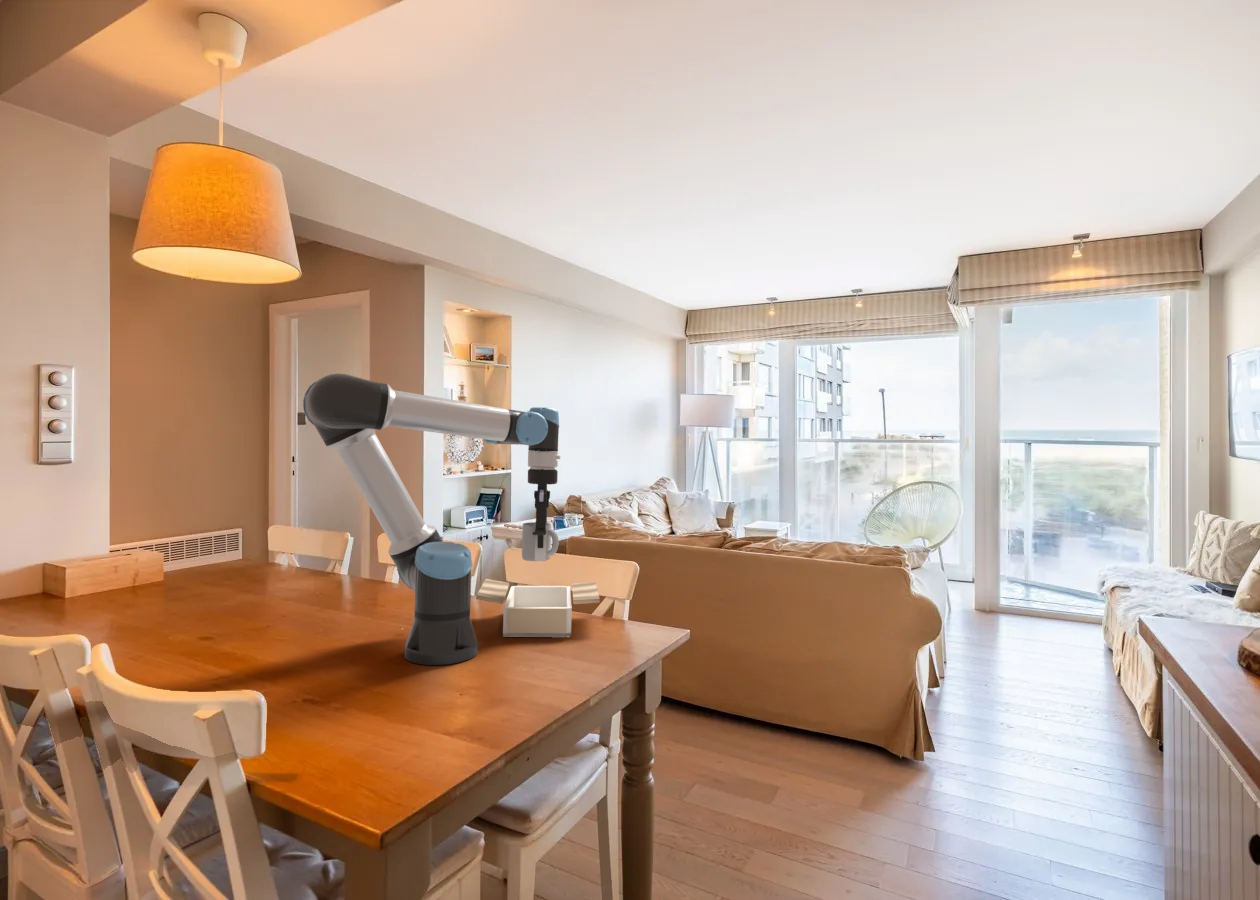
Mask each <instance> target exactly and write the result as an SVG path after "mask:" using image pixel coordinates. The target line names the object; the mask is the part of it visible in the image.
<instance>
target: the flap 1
mask: <svg viewBox="0 0 1260 900" xmlns="http://www.w3.org/2000/svg"><path fill="white" fill-rule="evenodd" d="M509 587H510V582H507V581H505V582H504V581H500V580H494V579H490V578H485V580H483V583H482V584H481V587H480V588H479V590H478V592H477V594H476V596H475V597H476V598H475V600H479V601H485V602H490V603H496V604H502V605H503V603H504V601H505V598H506V595H507V594H508V593H507V592H508V590H509Z"/></svg>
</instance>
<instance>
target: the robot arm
mask: <svg viewBox="0 0 1260 900" xmlns="http://www.w3.org/2000/svg"><path fill="white" fill-rule="evenodd" d="M302 402H303V403H302V406H303V407H302V408H303V412H304V415H305V417H306V419H307V420H308V421H309V423H311V425H313V427H315V429H316V431H317V433H318V435H319V436H320V438H321V440H322V442H323V443H324V445H325V446H326V447H327V448H328V449H332V450H335V451H337V452H338V454H339V455H340V458H341V459H342V461H343V463H344V464H345V466H346V467H347V469H348V471H349V474H350V475H351V476H352V478H353V480H354V481H355V483H356V485H357V487H358V488H359V490H360V492H361V494H362V495H363V497H364V499H365V500H366V502H367V504H368V506H369V508H370V509H371V511H372V513H373V515H374V516H375V518H376V520H377V521H378V523H379V524H380V527H381V528H382V530H383V532H384V534H385V535H386V537H387V539H388V540H389V543H390V545H389V548H388V555H390V556H389V557H390V558H391V560H392V561H393V563H394V565H395V567H396V571H397V573H398V577H399V579H400V580H401V581H402V583H404V584H405V586H406V587H408V588H410V589H411V590H413V591H414V613H413V614H414V616H413V618H414V619H413V622H412V625H411V628H410V630H409V634H408V637H407V640H406V642H405V646H404V658H405V660H407V661H408V662H410V663H414V664H418V665H425V666H442V665H443V666H444V665H453V664H457V663H462V662H466V661H468V660H470V659H473V658H474V657H476V656H477V654H478V650H479V649H478V646H479V641H478V639H477V635H476V631H475V629H474V625H473V622H472V619H471V602H472V601H471V599H472V598H471V597H472V595H471V594H472V568H473V559H472V552H471V550H470V549H469V547H467V546H466V545H464V544H462V543H456V542H453V541H444V540H443V539H442V537H441V535H440V534H439V532H438V530H437V528H436V526H434V525H430V524H427V523H425V520H424V518H423V517H422V515H421V513H420V511H419V510H418V508H417V506H416V504H415V503H414V501H413V498H412V497H411V495H410V493H409V491H408V489H407V488H406V486H405V485H404V483H403V481H402V479H401V478H400V476H399V475H400V474H399V473H398V472H397V470H396V468H395V467H394V464H393V463H392V460H391V459H390V458H389V456H388V454H387V453H386V451H385V449H384V447H383V445H382V443H381V442H380V439H379V438H378V436H377V434H376V430H379V431H382V430H384V429H385V428H387V427H391V428H392V427H393V428H400V429H406V430H412V431H413V430H415V431H423V432H429V433H437V434H442V435H443V434H444V435H450V436H451V435H452V436H457V437H458V436H459V437H464V438H465V437H466V438H467V437H468V438H474V439H479V440H480V439H481V440H483V441H484V442H485V443H486V444H492V445H493V444H494V445H516V446H517V445H520V446H521V445H523V446H524V445H525V446H528V449H527V466H528V467H529V468H528V470H527V483H528V484H530V485H537V490H534V492H533V494H534V497H533V498H534V508H535V522H536V530H535V532H533V535H535V561H534V562H546V561H547V560H546V523H548V509H549V506H550V498H551V491H550V490H548V485H556V484H558V470H557V469H556V468H557V467H558V461H559V460H560V459H561V455H558V454H559V433H560V431H559V429H560V417H559V411H558V409H556V408H554V407H543V406H542V407H541V406H540V407H539V406H538V407H537V406H536V407H531V408H530V409H529V410H527V411H521V410H514V409H508V408H504V407H498V406H493V405H486V404H479V403H475V402H474V403H473V402H469V401H468V402H467V401H463V400H455V399H450V398H443V397H437V396H432V395H425V394H419V393H415V392H414V393H413V392H407V391H400V390H394V389H393V388H392V387H391V385H390V384H388V383H383V382H377V381H373V380H368V379H364V378H361V377H358V376H354V375H350V374H346V373H330V374H327V375H325V376H322V377H321V378H319V379H318V380H315V381H314V382H313V383H312V384H311V385H309V387H308V388H307V390H306V391H305V394H304V396H303V400H302ZM539 528H540V529H539Z"/></svg>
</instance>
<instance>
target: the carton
mask: <svg viewBox="0 0 1260 900" xmlns="http://www.w3.org/2000/svg"><path fill="white" fill-rule="evenodd" d="M507 594H508V595H507V597H506V600H505V603H504V605H503V618H502V619H503V620H502V623H503V624H502V625H503V626H502V638H503V637H552V638H568V637H567V636H571V637H572V612H573V611H572V608H573V606H572V588H571V586H566V585H512V586H510V589H509V592H508V593H507ZM563 636H564V637H563Z"/></svg>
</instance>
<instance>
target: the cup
mask: <svg viewBox="0 0 1260 900" xmlns="http://www.w3.org/2000/svg"><path fill="white" fill-rule="evenodd" d="M539 529H540V528H539ZM535 530H536V521H535V522H534V521H533V522H524V523H522V533H521V536H522V538H521V539H522V540H521V541H522V542H521V546H522V547H521V558H522V560H524V561H526V562H536V561H535V535H533V532H535ZM551 541H552V542H551ZM559 542H560V541H559V535H558V534H557V532H556V530H555V529H552V523H549V522H547V523H546V561H549V560H550V559H551V556H553V555H555V554H556V553H557V551H558V548H559Z"/></svg>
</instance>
